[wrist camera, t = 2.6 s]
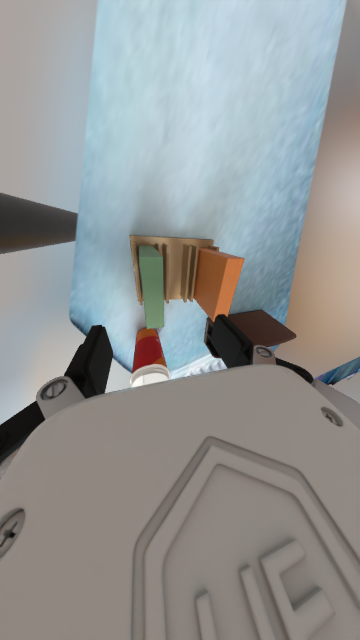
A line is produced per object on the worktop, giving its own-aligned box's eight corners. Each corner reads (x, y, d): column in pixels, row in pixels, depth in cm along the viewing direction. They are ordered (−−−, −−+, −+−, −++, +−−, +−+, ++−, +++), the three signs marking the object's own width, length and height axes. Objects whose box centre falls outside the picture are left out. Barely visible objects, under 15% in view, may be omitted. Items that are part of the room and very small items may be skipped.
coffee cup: (154, 348, 42) (160, 396, 30) (128, 342, 38) (122, 395, 26) (166, 328, 39) (179, 373, 27) (139, 320, 35) (139, 367, 23)
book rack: (138, 299, 32) (138, 309, 28) (129, 235, 24) (127, 236, 20) (202, 296, 36) (210, 304, 32) (211, 239, 28) (223, 241, 24)
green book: (144, 295, 30) (146, 329, 20) (139, 245, 25) (139, 256, 14) (155, 294, 31) (163, 327, 21) (153, 245, 25) (162, 256, 15)
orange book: (189, 292, 33) (212, 322, 23) (194, 247, 27) (227, 258, 17) (199, 292, 34) (226, 320, 23) (205, 247, 28) (245, 258, 18)
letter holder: (206, 317, 40) (232, 352, 29) (261, 309, 44) (304, 336, 33) (203, 341, 46) (224, 378, 34) (252, 332, 50) (286, 362, 38)
